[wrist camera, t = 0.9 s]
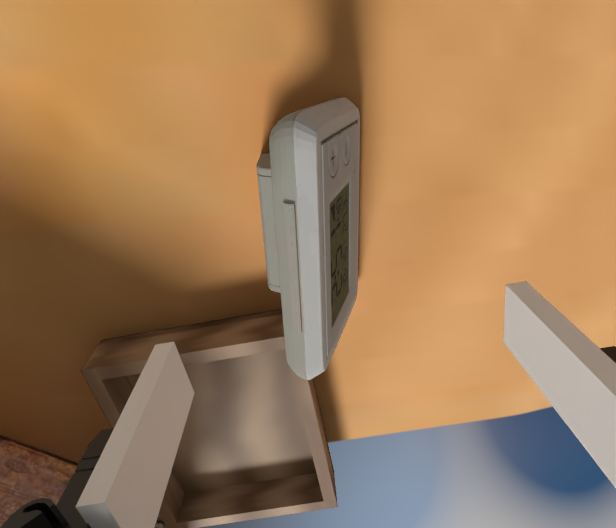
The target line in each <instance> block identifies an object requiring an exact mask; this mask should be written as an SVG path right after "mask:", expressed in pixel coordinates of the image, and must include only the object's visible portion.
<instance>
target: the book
mask: <svg viewBox="0 0 616 528" xmlns="http://www.w3.org/2000/svg"><path fill="white" fill-rule="evenodd" d="M77 466H78V464H77V463H75V462H72V461H69V460H67V459H64V458H61V457H59V456H56V455H53V454H51V453H48V452H45V451H43V450H40V449H37V448H35V447H32V446H29V445H27V444H24V443H21V442H18V441H16V440H13V439H10V438H8V437H5V436H2V435H0V528H1V527H2V525H3V524H4V522H5V521H6V520H7V519H8V518H9V517H10V516H11V515H12V514H13V513H14V512H15V511H16V510H18V509H19V508H20V507H21V506H23V505H25V504H27V503H29V502H31V501H32V500H36V499H40V498H47V499H51V500H52V501H53V503H54V504H55V505H57V503H58V501H59V499H60V498H61V496H62V494H63V492H64V490H65V488H66V486H67V485H68V483H69V481H70V479H71V477H72V475H73V474H75V470H76V468H77ZM154 528H167V527H166V525H165V524H164V522H163V520H162V518H161V516H160V515H159V514H158V517H157V521H156V524H155V527H154Z"/></svg>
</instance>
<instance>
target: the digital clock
mask: <svg viewBox="0 0 616 528" xmlns="http://www.w3.org/2000/svg"><path fill="white" fill-rule="evenodd" d="M269 150H270V153H264V154H261V155H260V158H259V160H258V163H257V174H258V185H259V195H260V206H261V216H262V226H263V237H264V247H265V258H266V268H267V280H268V287H269V289H270V290H272V291H275V292H279V293H281V303H282V315H283V328H284V339H285V350H286V359H287V362H288V365H289V366H290V368H291V369H292V370H293V371H294V372H295V374H296V375H297V376H299V377H301V378H302V379H305V380H311V379H313V378H314V377H316V376H318V375H319V374H321V373H322V372H324V371H325V370H326V368H327V366H328V364H329V362H330V360H331V357H332V355H333V353H334V350H335V348H336V346H337V343H338V341H339V339H340V336H341V334H342V331H343V329H344V327H345V324H346V322H347V320H348V317H349V315H350V313H351V310H352V308H353V306H354V303H355V300H356V297H357V287H358V229H359V163H360V112H359V109H358V108H357V107H356V106H355V105H354V104H353V103H352V102H351V101H350V100H348V99H347V98H346V97H341V98H335V99H332V100H329V101H326V102H323V103H320V104H317V105H313V106H310V107H307V108H304V109H301V110H298V111H295V112H293V113H290V114H288V115H286V116H285V117H283V118H282V119H281V120H279V121H278V122H277V124H276V125H275V126H274V127H273V128H272V130H271V133H270V137H269Z"/></svg>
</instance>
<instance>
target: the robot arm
mask: <svg viewBox="0 0 616 528" xmlns="http://www.w3.org/2000/svg"><path fill="white" fill-rule="evenodd" d="M504 343H505V345H506V346H507V347H508V349H509V350H510V351H511V353H512V354H513V355H514V356H515V358H516V359H517V360H518V362H519V363H520V364H521V366H522V367H523V368H524V369H525V371H526V372H527V373H528V375H529V376H530V377H531V379H532V380H533V381H534V382H535V384H536V385H537V386H538V388H539V389H540V390H541V392H542V393H543V394H544V395H545V397H546V398H547V399H548V401H549V402H550V403H551V405H552V406H553V407H554V408H555V410H556V411H557V412H558V414H559V415H560V416H561V417H562V419H563V420H564V422H565V423H566V424H567V425H568V426H569V428H570V429H571V431H572V432H573V433H574V435H575V436H576V437H577V438H578V440H579V441H580V442H581V444H582V445H583V446H584V448H585V449H586V450H587V451H588V453H589V454H590V455H591V457H592V458H593V459H594V461H595V462H596V463H597V464H598V466H599V467H600V468H601V470H602V471H603V472H604V474H605V475H606V476H607V477H608V479H609V480H610V481H611V482H612V484H613V485H614V486H615V488H616V347H615V346H612V347H606V348H599V347H597V346H596V345H595V344H594V343H593V342H592V341H591V340H590V339H589V338H588V337H586V336H585V335H584V334H583V333H582V332H581V331H580V330H579V329H578V328H577V327H576V326H574V325H573V324H572V323H571V322H570V321H569V320H568V319H567V318H566V317H565V316H564V315H562V314H561V313H560V312H559V311H558V310H557V309H556V308H555V307H554V306H553V305H552V304H550V303H549V302H548V301H547V300H546V299H545V298H544V297H543V296H542V295H541V294H540V293H538V292H537V291H536V290H535V289H534V288H533V287H532V286H531V285H530V284H529V283H527V282H526V281H525V282H519V283H513V284H507V285H506V295H505V319H504ZM193 397H194V390H193V388H192V385H191V383H190V380H189V378H188V375H187V373H186V370H185V368H184V365H183V363H182V360H181V358H180V355H179V353H178V350H177V348H176V345H175V343H174V341H173V342H168V343H162V344H156V345H155V346H154V348H153V350H152V352H151V354H150V356H149V358H148V360H147V362H146V365H145V367H144V369H143V371H142V373H141V375H140V377H139V379H138V381H137V383H136V385H135V387H134V389H133V391H132V393H131V395H130V397H129V399H128V401H127V403H126V405H125V407H124V409H123V411H122V413H121V415H120V417H119V419H118V421H117V423H116V425H115V427H114V428H112V429H106V430H102V431H101V432H100V433H99V434H98V435H97V436H96V437H95V438H94V439H93V441H92V442H91V443H90V444H89V446H88V447H87V449H86V451H85V453H84V455H83V457H82V461H80V462H79V464H78V466H77V468H76V470H75V474H73V475H72V477H71V479H70V481H69V483H68V485H67V486H66V488H65V490H64V492H63V494H62V496H61V498H60V499H59V501H58V503H57V505H55V504H54V503H53V501H52V500H51V499H47V498H40V499H36V500H32V501H31V502H29V503H27V504H25V505H23V506H21V507H20V508H19V509H18V510H16V511H15V512H14V513H13V514H12V515H11V516H10V517H9V518H8V519H7V520H6V521H5V522H4V524H3V525H2V527H1V528H154V527H155V524H156V521H157V517H158V514H159V510H160V507H161V504H162V500H163V497H164V494H165V490H166V487H167V484H168V480H169V477H170V474H171V470H172V467H173V464H174V460H175V457H176V454H177V450H178V447H179V444H180V440H181V437H182V434H183V430H184V427H185V423H186V420H187V417H188V413H189V410H190V407H191V403H192V400H193Z"/></svg>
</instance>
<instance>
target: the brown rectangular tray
mask: <svg viewBox="0 0 616 528" xmlns="http://www.w3.org/2000/svg"><path fill="white" fill-rule="evenodd" d="M173 341H174V343H175V345H176V348H177V350H178V353H179V355H180V358H181V360H182V363H183V365H184V368H185V370H186V373H187V375H188V378H189V380H190V383H191V385H192V388H193V390H194V397H193V400H192V403H191V407H190V410H189V413H188V417H187V420H186V423H185V427H184V430H183V434H182V437H181V440H180V444H179V447H178V450H177V454H176V457H175V460H174V464H173V467H172V470H171V474H170V477H169V480H168V484H167V487H166V490H165V494H164V497H163V500H162V504H161V507H160V510H159V515H160V516H161V518H162V520H163V522H164V524H165V525H166V527H167V528H199V527H205V526H212V525H218V524H226V523H232V522H239V521H246V520H253V519H260V518H266V517H273V516H279V515H287V514H293V513H300V512H307V511H314V510H320V509H327V508H334V507H337V497H336V487H335V478H334V470H333V465H332V461H331V456H330V452H329V447H328V443H327V439H326V434H325V430H324V425H323V421H322V416H321V412H320V408H319V403H318V399H317V394H316V390H315V386H314V381H313V379H311V380H305V379H302V378H301V377H299V376H297V375H296V374H295V372H294V371H293V370H292V369H291V368H290V366H289V365H288V362H287V359H286V350H285V339H284V328H283V315H282V309H280V310H274V311H268V312H262V313H257V314H251V315H245V316H239V317H233V318H228V319H222V320H216V321H210V322H204V323H198V324H193V325H187V326H181V327H175V328H169V329H164V330H158V331H152V332H146V333H140V334H135V335H129V336H123V337H117V338H111V339H105V340H102V341H101V342H100V344H99V345H98V346H97V348H96V349H95V351H94V352H93V354H92V355H91V356H90V358H89V359H88V361H87V362H86V364H85V365H84V367H83V368H82V369H81V373H82V375H83V376H84V378H85V380H86V382H87V384H88V385H89V387H90V389H91V391H92V393H93V395H94V396H95V398H96V400H97V402H98V404H99V405H100V407H101V409H102V411H103V413H104V415H105V416H106V418H107V420H108V422H109V424H110V425H111V427H112V428H114V427H115V425H116V423H117V421H118V419H119V417H120V415H121V413H122V411H123V409H124V407H125V405H126V403H127V401H128V399H129V397H130V395H131V393H132V391H133V389H134V387H135V385H136V383H137V381H138V379H139V377H140V375H141V373H142V371H143V369H144V367H145V365H146V362H147V360H148V358H149V356H150V354H151V352H152V350H153V348H154V346H155V345H156V344H162V343H168V342H173Z"/></svg>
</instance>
